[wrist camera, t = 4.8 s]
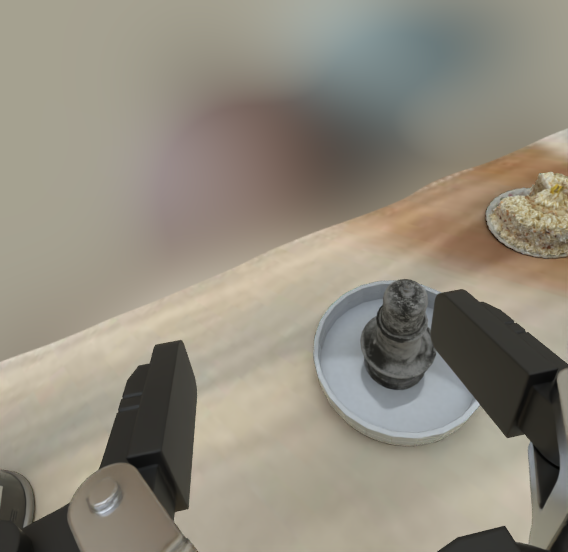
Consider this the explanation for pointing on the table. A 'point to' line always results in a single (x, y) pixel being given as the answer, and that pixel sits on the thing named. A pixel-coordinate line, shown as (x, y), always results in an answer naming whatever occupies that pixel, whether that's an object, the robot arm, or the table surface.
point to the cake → (533, 217)
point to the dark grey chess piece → (399, 337)
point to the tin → (373, 397)
